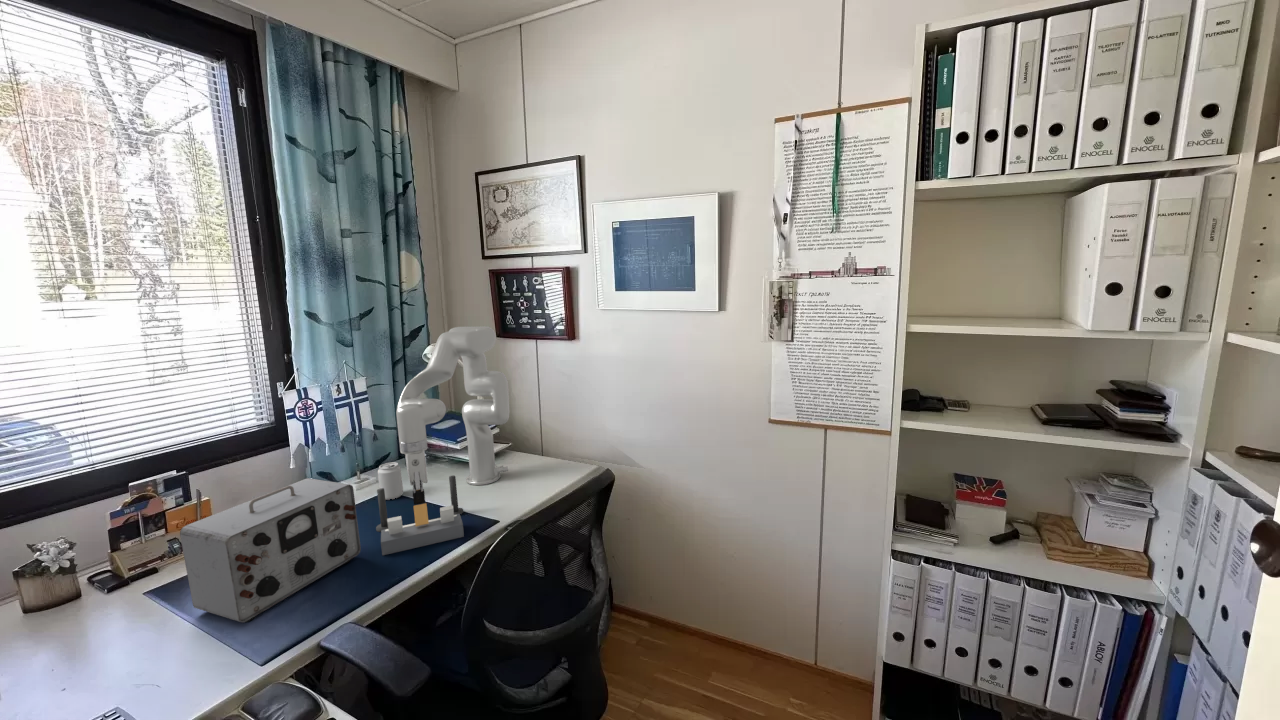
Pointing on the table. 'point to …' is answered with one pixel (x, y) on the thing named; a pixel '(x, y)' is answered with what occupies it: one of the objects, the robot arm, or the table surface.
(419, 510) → the lever
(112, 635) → the table surface
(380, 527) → the post
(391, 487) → the can
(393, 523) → the lever left
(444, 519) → the lever right
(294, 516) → the vintage electronic device
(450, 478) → the post
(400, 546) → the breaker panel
